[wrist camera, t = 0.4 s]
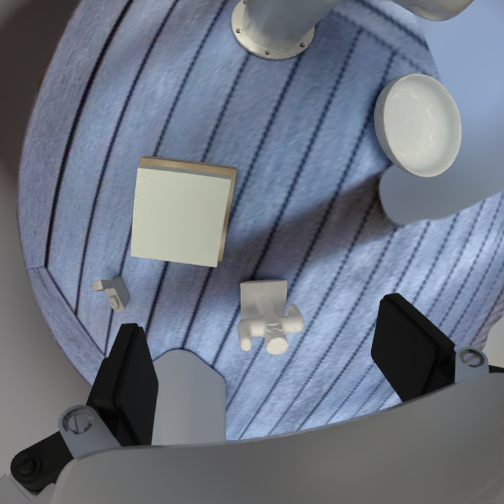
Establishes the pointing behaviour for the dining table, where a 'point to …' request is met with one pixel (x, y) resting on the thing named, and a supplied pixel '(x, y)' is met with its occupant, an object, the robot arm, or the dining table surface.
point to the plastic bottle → (188, 401)
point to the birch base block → (206, 168)
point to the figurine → (267, 315)
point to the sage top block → (179, 214)
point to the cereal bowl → (418, 125)
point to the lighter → (113, 292)
